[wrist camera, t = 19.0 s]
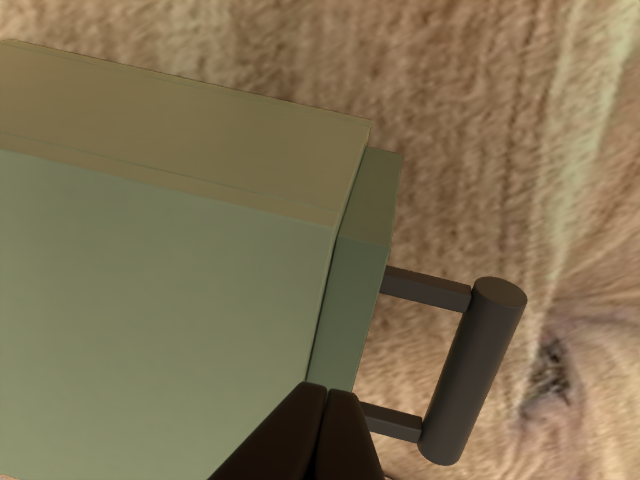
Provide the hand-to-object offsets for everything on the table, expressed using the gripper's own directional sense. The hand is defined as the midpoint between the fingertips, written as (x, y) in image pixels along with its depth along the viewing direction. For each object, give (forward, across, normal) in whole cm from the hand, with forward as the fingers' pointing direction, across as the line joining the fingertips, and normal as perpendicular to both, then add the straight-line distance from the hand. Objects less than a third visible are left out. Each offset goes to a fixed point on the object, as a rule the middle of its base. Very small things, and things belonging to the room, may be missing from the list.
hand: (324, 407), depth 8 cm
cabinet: (+12, +7, +4) cm, 14 cm away
